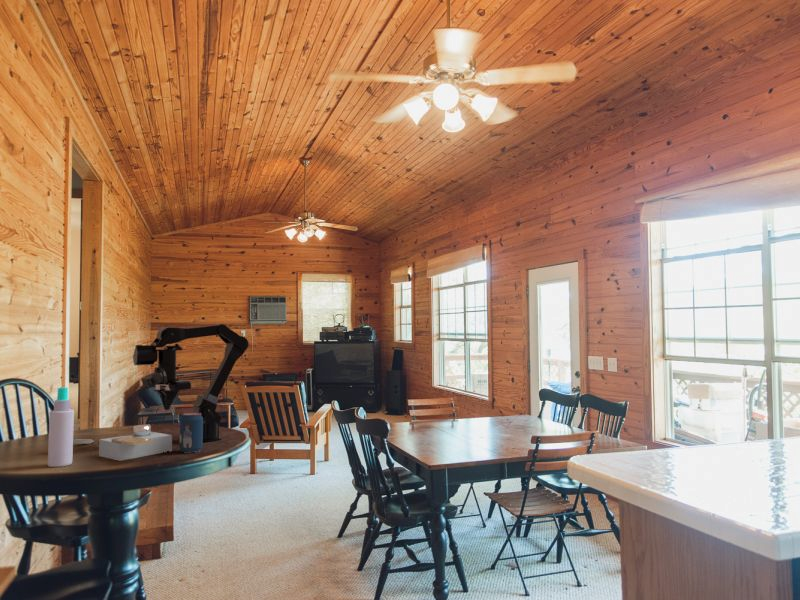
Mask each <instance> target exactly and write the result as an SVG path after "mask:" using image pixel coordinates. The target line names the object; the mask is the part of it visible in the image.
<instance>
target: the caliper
mask: <svg viewBox="0 0 800 600" xmlns="http://www.w3.org/2000/svg"><path fill="white" fill-rule="evenodd" d="M92 443H95V440H93V439H89V438H87V439H85V438H84V439H83V438H82V439H81V438H80V439H79V438H76V439H75V438H73V445H77V444H78V445H80V444H85V445H87V444H88V445H89V444H92Z"/></svg>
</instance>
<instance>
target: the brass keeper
mask: <svg viewBox="0 0 800 600" xmlns="http://www.w3.org/2000/svg"><path fill="white" fill-rule="evenodd" d="M114 442H119V443H125V444H132V445H136V444H142V443H148V442H153V439H146V438H139V437H128V438H121V439H115V440H114Z"/></svg>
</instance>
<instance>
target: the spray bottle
mask: <svg viewBox="0 0 800 600" xmlns="http://www.w3.org/2000/svg"><path fill="white" fill-rule="evenodd" d="M68 391H69V388H68V387H58V388H57V396H56V397H57V399H56V400H55V399H54V405H53V406H54V407H53V410H51V411H49V420H48V421H49V422H48V423H49V424H48V446H47V447H48V449H47V450H48V452H47V466H48V467H50V468H63V467H68V466H69V465H70V466H71V464H73V453H74V451H73V450H74V444H73V439H74V429H75V427H74V426H75V425H74V424H75V423H74V422H75V410H74V409H71V399H68V398H69V392H68Z"/></svg>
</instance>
